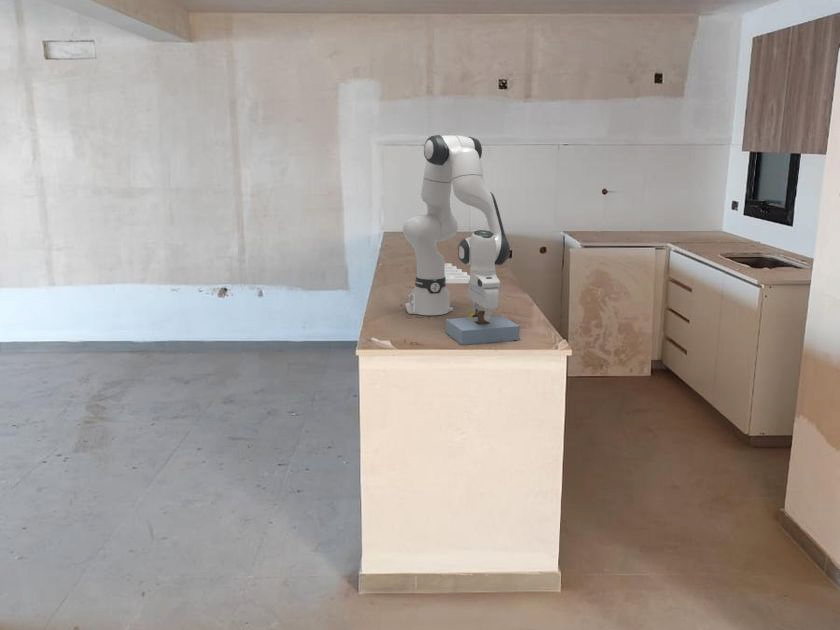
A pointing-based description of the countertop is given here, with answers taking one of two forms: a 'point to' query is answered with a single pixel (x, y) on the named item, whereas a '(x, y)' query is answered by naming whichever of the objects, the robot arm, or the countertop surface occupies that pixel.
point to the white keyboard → (455, 274)
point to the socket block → (482, 330)
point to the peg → (481, 317)
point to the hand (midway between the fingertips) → (481, 317)
